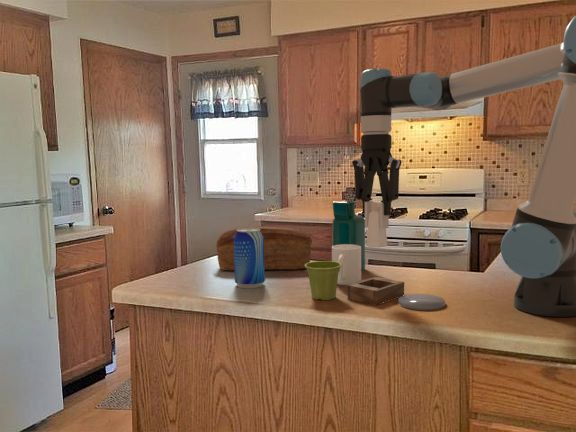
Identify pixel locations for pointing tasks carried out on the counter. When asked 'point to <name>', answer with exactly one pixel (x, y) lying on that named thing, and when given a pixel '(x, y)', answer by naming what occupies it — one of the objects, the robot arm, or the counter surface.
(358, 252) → the mug
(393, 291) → the pocket block
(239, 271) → the beer can
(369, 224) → the salt shaker
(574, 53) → the robot arm
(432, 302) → the grey plate
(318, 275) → the plant pot
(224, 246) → the bread
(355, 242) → the teal bottle
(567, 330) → the counter surface
